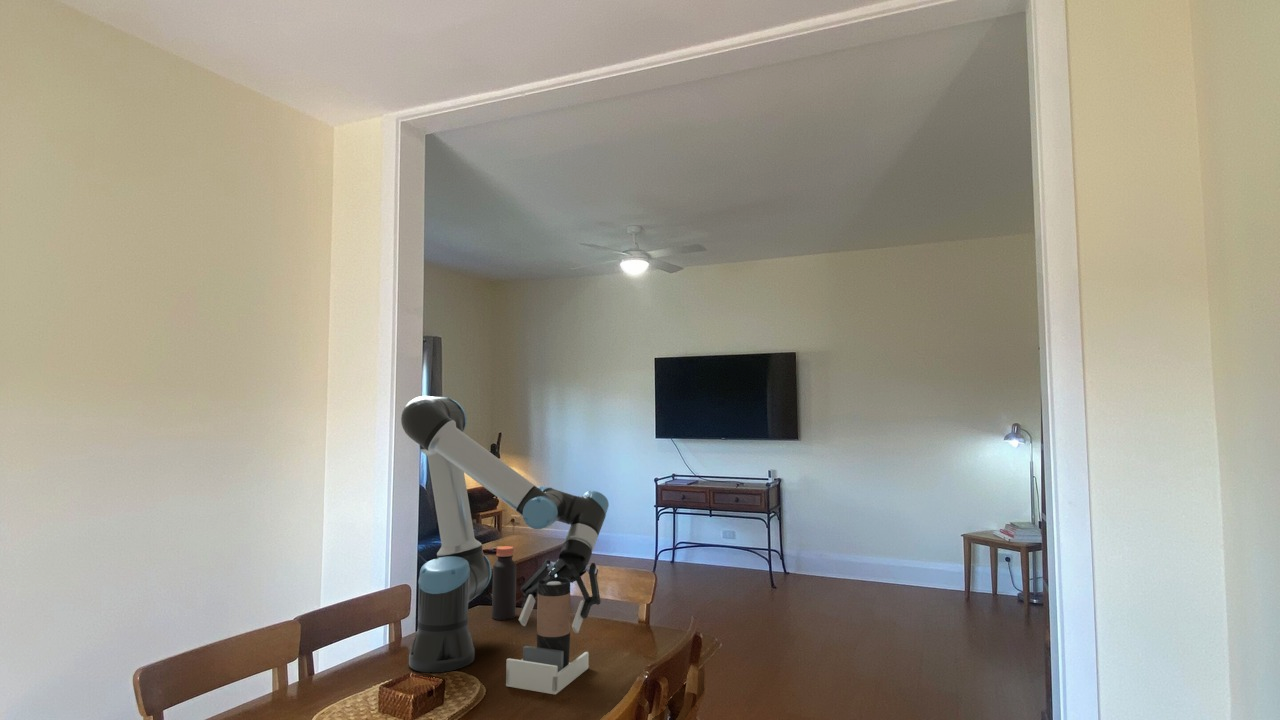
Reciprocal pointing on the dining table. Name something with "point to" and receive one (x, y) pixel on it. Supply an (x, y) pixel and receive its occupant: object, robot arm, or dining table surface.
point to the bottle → (504, 585)
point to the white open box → (543, 674)
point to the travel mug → (554, 616)
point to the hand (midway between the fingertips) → (547, 626)
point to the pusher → (543, 656)
